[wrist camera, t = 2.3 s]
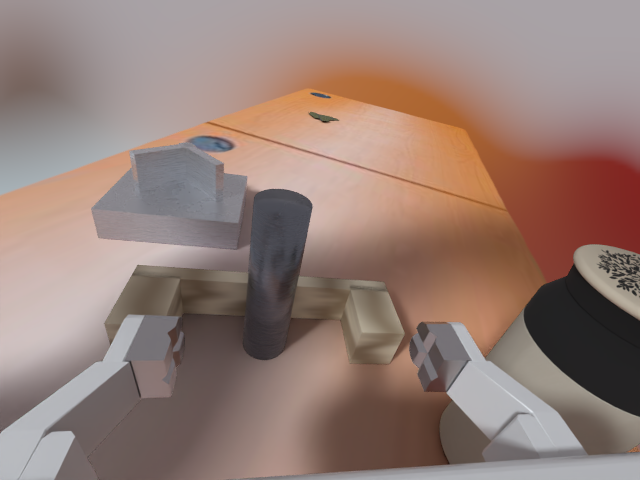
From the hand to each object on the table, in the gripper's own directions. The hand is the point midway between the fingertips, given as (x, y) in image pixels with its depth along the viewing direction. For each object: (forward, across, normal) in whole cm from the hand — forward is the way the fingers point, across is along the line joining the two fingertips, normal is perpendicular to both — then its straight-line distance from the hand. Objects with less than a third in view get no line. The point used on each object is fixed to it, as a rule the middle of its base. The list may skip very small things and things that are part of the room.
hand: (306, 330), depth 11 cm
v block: (+32, +13, +16) cm, 38 cm away
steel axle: (+12, +1, +17) cm, 21 cm away
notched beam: (+13, +1, +16) cm, 21 cm away
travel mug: (+2, -17, +17) cm, 24 cm away
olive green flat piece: (+108, -16, +17) cm, 111 cm away
